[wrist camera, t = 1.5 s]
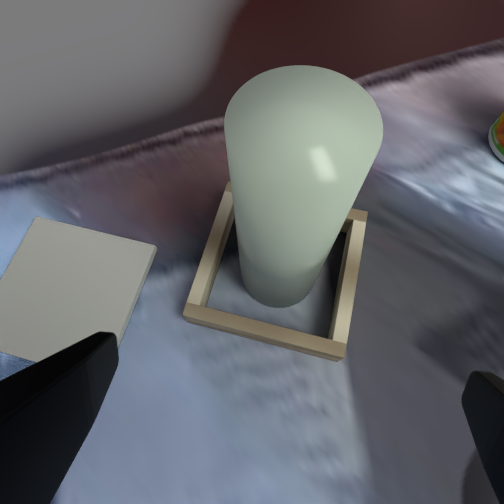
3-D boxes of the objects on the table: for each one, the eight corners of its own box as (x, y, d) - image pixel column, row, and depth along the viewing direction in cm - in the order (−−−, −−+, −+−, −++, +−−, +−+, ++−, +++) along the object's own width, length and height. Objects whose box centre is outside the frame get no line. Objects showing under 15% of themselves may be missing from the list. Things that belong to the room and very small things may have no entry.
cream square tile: (104, 381, 22) (100, 381, 21) (-28, 343, 23) (-35, 341, 22) (157, 248, 25) (155, 245, 24) (40, 220, 26) (36, 216, 25)
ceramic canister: (307, 316, 23) (371, 206, 10) (232, 297, 24) (204, 169, 11) (321, 247, 25) (391, 80, 12) (252, 230, 26) (247, 54, 13)
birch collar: (336, 361, 22) (344, 357, 20) (188, 322, 23) (182, 315, 21) (359, 225, 26) (367, 211, 24) (229, 196, 27) (227, 181, 25)
